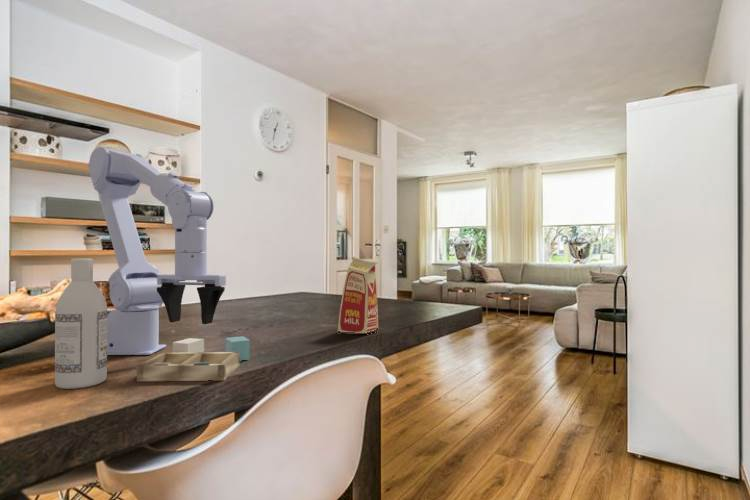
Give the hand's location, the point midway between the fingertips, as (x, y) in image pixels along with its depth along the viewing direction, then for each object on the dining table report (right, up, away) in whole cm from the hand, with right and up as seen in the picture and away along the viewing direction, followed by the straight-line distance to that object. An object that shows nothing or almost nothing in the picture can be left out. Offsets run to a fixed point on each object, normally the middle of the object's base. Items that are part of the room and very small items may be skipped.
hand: (190, 322), depth 85 cm
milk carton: (+32, -8, +32) cm, 46 cm away
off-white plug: (0, -8, 0) cm, 8 cm away
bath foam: (-11, -8, -15) cm, 20 cm away
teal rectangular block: (+8, -8, +2) cm, 11 cm away
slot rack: (+4, -7, -9) cm, 12 cm away
